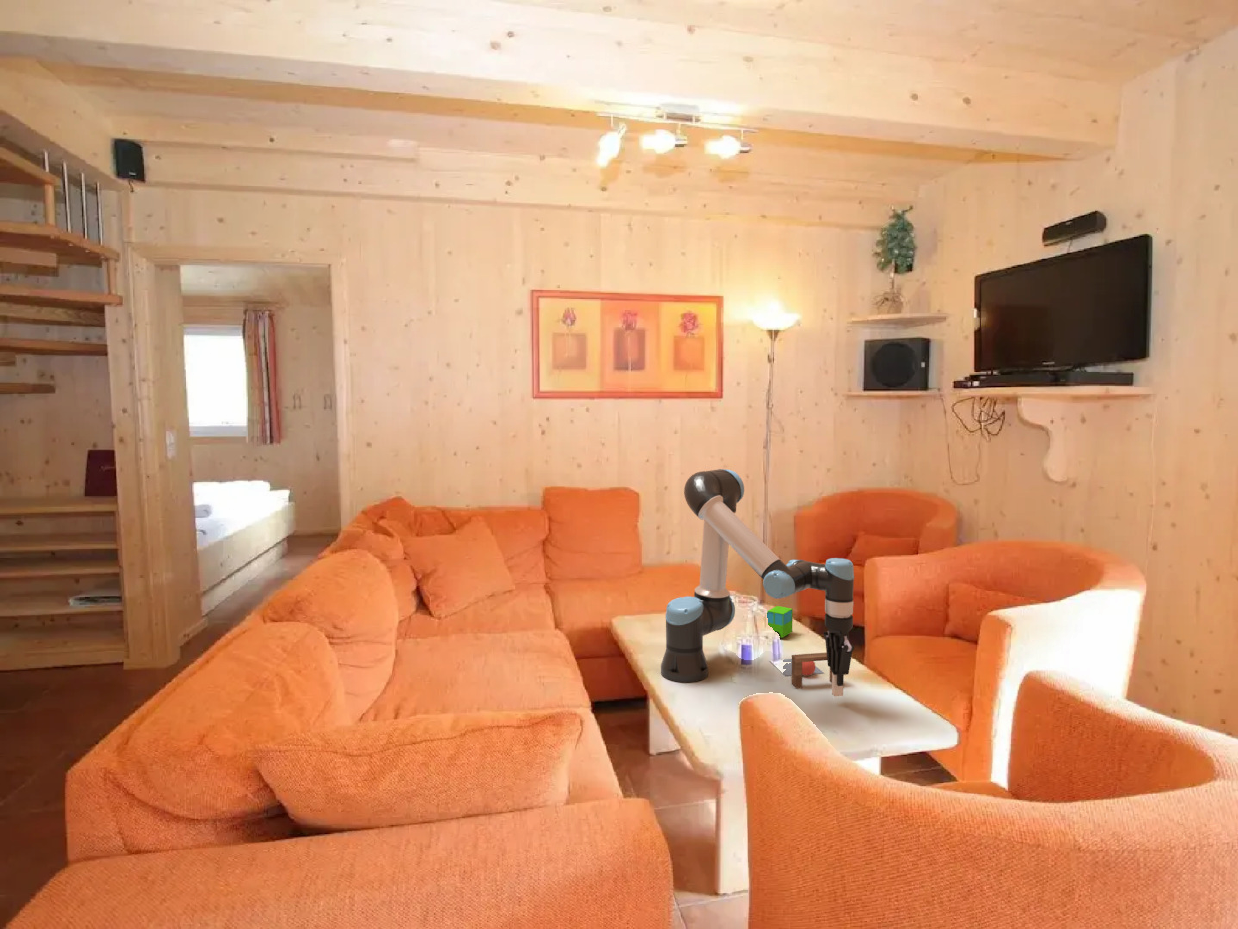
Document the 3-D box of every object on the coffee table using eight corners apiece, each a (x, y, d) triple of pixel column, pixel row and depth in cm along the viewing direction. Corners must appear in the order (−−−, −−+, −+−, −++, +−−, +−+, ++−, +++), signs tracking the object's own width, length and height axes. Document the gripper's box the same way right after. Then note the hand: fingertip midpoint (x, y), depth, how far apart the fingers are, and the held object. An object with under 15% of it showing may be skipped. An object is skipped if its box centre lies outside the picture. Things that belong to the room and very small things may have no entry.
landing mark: (785, 676, 203) (785, 675, 202) (769, 661, 215) (769, 660, 215) (823, 673, 205) (823, 672, 205) (805, 658, 217) (805, 657, 217)
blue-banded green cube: (761, 627, 250) (761, 601, 250) (793, 634, 242) (793, 608, 241) (748, 634, 243) (748, 608, 242) (781, 641, 234) (781, 614, 233)
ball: (800, 657, 201) (793, 658, 207) (802, 675, 199) (795, 676, 205) (816, 656, 202) (809, 657, 207) (819, 674, 200) (812, 675, 205)
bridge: (840, 684, 196) (840, 655, 195) (795, 688, 194) (796, 658, 193) (835, 680, 199) (836, 651, 198) (791, 684, 196) (791, 655, 196)
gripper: (863, 620, 176) (861, 704, 177) (839, 606, 189) (838, 684, 190) (838, 622, 174) (836, 706, 176) (815, 608, 187) (814, 686, 189)
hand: (837, 695), depth 183 cm, fingers closed
